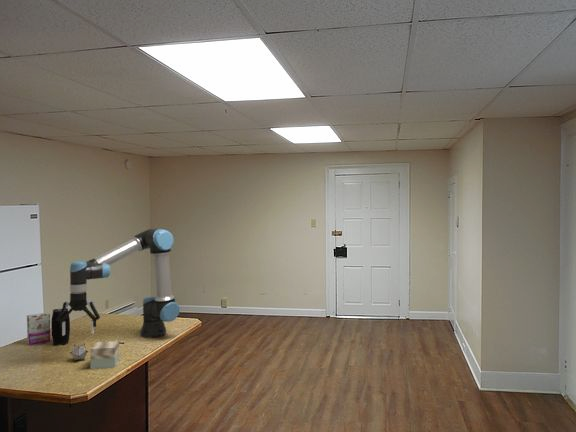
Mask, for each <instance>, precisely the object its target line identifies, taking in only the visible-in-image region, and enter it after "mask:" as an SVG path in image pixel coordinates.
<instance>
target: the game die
mask: <svg viewBox="0 0 576 432" xmlns="http://www.w3.org/2000/svg"><path fill="white" fill-rule="evenodd" d="M88 353H89V351H88V350H87V348H86V343H84V344H78V345H76V344H73V348H72V350H71V351H70V352H69V354H71V356H72V358H73V360H72V361H73V362H75V361H79V360H83V361H85V360H86V359H85V358H86V356H87V354H88Z"/></svg>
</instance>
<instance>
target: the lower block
mask: <svg viewBox="0 0 576 432" xmlns="http://www.w3.org/2000/svg"><path fill="white" fill-rule="evenodd" d="M119 353H120V351H119V352H118V353H117V355H116V357H115V358H107V359H90V370H99V369H100V370H101V369H112V368H116V366H117V363H118V362H119V355H120V354H119Z"/></svg>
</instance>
